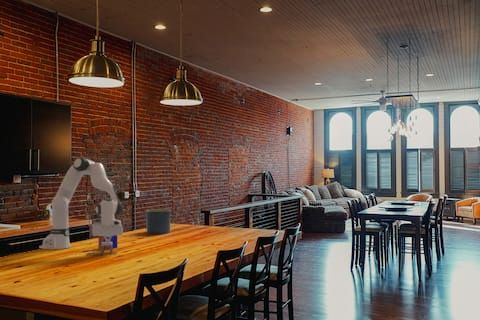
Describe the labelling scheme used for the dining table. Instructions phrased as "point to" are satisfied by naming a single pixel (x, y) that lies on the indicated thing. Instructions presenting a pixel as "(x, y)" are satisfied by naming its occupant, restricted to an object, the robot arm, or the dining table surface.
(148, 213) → the planter
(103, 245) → the stool
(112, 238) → the puzzle cube
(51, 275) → the dining table surface
